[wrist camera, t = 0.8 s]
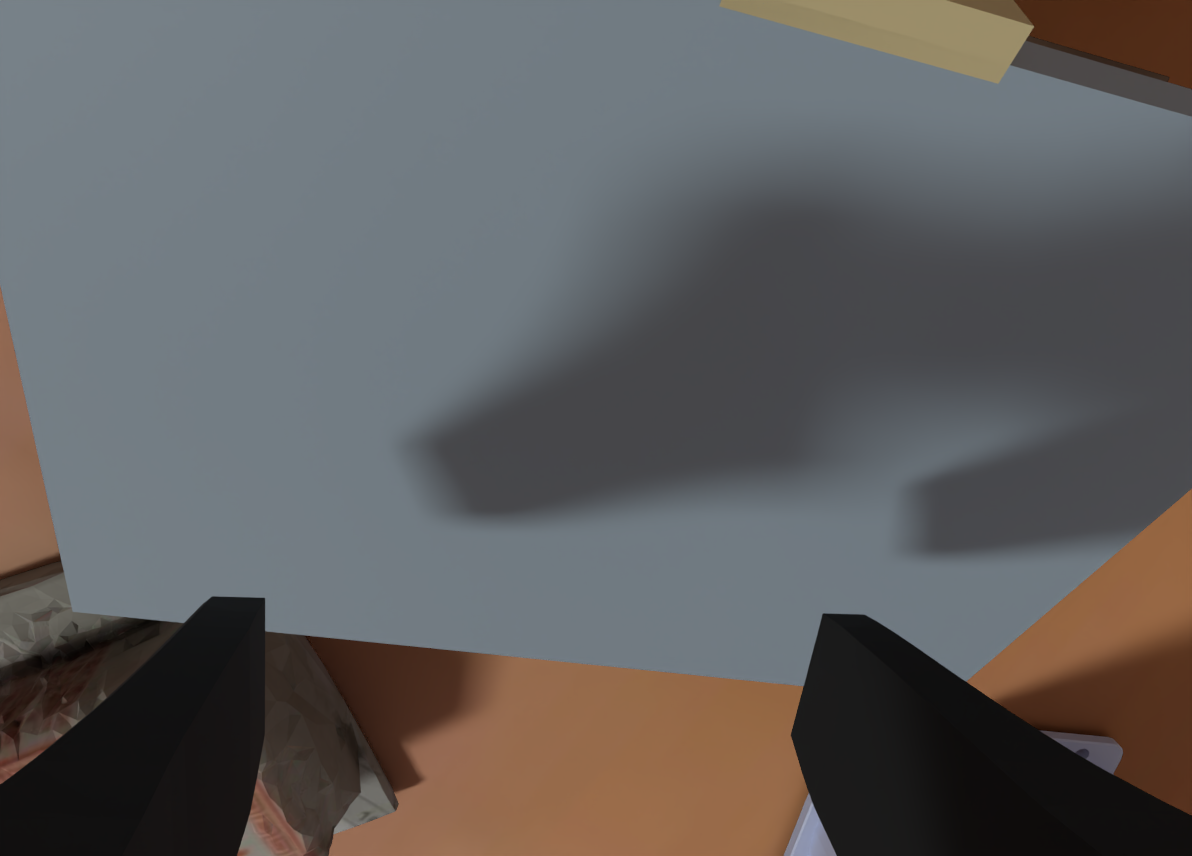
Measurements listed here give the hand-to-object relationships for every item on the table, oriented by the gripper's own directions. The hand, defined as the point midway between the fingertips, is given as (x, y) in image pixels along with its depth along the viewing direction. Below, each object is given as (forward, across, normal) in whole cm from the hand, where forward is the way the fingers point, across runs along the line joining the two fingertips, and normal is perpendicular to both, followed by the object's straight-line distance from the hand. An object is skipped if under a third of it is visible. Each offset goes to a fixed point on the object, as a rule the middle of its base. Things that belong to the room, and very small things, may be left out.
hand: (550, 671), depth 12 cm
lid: (+3, -2, -3) cm, 5 cm away
